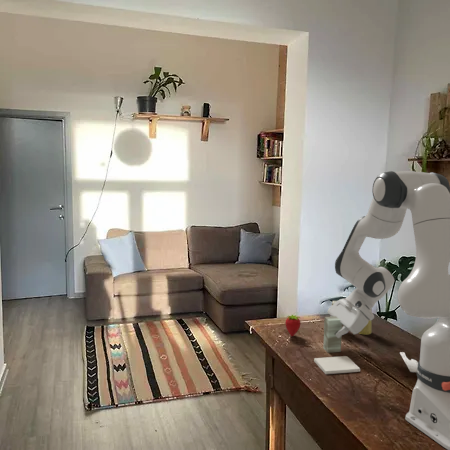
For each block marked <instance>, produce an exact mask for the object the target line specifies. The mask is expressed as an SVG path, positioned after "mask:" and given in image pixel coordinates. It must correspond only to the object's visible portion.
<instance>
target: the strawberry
mask: <svg viewBox="0 0 450 450" xmlns="http://www.w3.org/2000/svg"><path fill="white" fill-rule="evenodd" d="M301 325H302V324H301V317H299V316H297V315H295V313H293V314H291V315H288V316H287V317H286V319H285V328H286V330H287V332H288V333H289V335H290V337H292V338H293V337H294V336H296V334H297V332H299V330H300V327H301Z"/></svg>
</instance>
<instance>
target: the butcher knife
mask: <svg viewBox="0 0 450 450" xmlns="http://www.w3.org/2000/svg"><path fill="white" fill-rule="evenodd" d="M399 354H400V356H401V358H402V359H403V361H404V363H405V365H406V367H407V368H408V370H409V372H410V373H417V367H418V362H419V361H417V360H416V359H414V358H411V359H409V358H408V357H407V356H406V353H405V352H403V351H402V352H401V351H400V352H399Z"/></svg>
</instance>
